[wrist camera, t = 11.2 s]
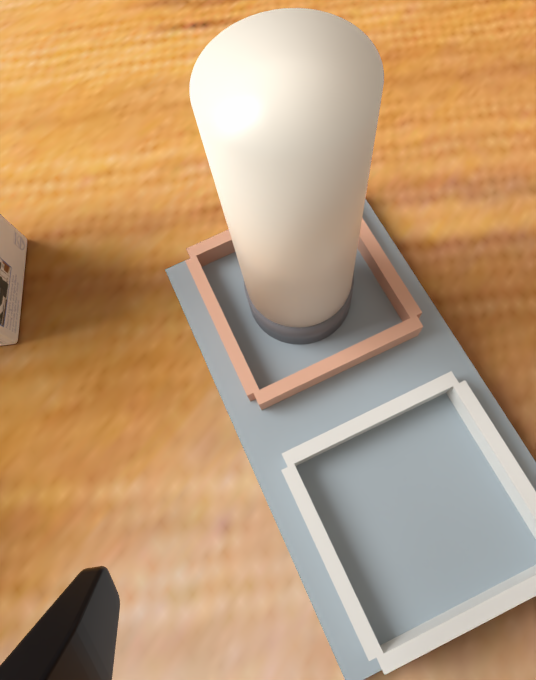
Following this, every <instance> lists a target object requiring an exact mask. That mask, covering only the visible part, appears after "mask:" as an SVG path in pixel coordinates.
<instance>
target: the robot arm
mask: <svg viewBox="0 0 536 680" xmlns="http://www.w3.org/2000/svg"><path fill="white" fill-rule="evenodd" d="M119 610H120V599H119V595H118V592H117V590H116V587H115V585H114V583H113V580H112V578H111V576H110V573H109V571H108V569H107V568H106V567H104V566H99V567H93V568H87V569H84V570H83V571H81V572H80V573H79V574H78V575H77V577H76V578H75V579H74V580H73V581H72V582H71V584H70V585H69V586H68V587H67V588H66V589H65V591H64V592H63V593H62V594H61V595H60V596H59V598H58V599H57V600H56V601H55V602H54V603H53V605H52V606H51V607H50V608H49V609H48V610H47V612H46V613H45V614H44V615H43V616H42V617H41V619H40V620H39V621H38V622H37V623H36V624H35V626H34V627H33V628H32V629H31V630H30V631H29V633H28V634H27V635H26V636H25V637H24V639H23V640H22V641H21V642H20V643H19V644H18V646H17V647H16V648H15V649H14V650H13V651H12V653H11V654H10V655H9V656H8V657H7V658H6V660H5V661H4V662H3V663H2V664H1V665H0V680H112V673H113V664H114V655H115V646H116V637H117V628H118V619H119Z"/></svg>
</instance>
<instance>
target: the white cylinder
mask: <svg viewBox="0 0 536 680" xmlns="http://www.w3.org/2000/svg"><path fill="white" fill-rule="evenodd" d="M383 84H384V70H383V65H382V61H381V58H380V55H379V53H378V51H377V49H376V47H375V46H374V44H373V43H372V41H371V40H370V39H369V38H368V36H367V35H366V34H364V33H363V32H362V31H361V30H360V29H359V28H357V27H356V26H355V25H353V24H352V23H350V22H348V21H346V20H345V19H343V18H341V17H338V16H336V15H333V14H330V13H327V12H323V11H319V10H313V9H304V8H284V9H276V10H270V11H266V12H261V13H258V14H255V15H252V16H249V17H247V18H245V19H242V20H240V21H238V22H236V23H234V24H233V25H231V26H229V27H228V28H226V29H225V30H223V31H222V32H221V33H219V34H218V35H217V36H216V37H215V38H214V39H213V40H211V42H210V43H209V44H208V45H207V46H206V47H205V48H204V50H203V51H202V53H201V54H200V56H199V57H198V59H197V61H196V63H195V65H194V68H193V71H192V74H191V79H190V99H191V105H192V108H193V111H194V115H195V118H196V121H197V125H198V128H199V132H200V135H201V138H202V142H203V145H204V148H205V152H206V155H207V158H208V162H209V165H210V168H211V172H212V175H213V178H214V182H215V185H216V188H217V192H218V195H219V198H220V202H221V205H222V208H223V212H224V215H225V218H226V222H227V225H228V228H229V232H230V235H231V238H232V242H233V245H234V249H235V252H236V255H237V259H238V262H239V265H240V269H241V272H242V275H243V279H244V288H245V293H246V296H247V299H248V303H249V306H250V309H251V312H252V315H253V317H254V319H255V321H256V322H257V324H258V325H259V327H260V328H261V329H262V330H263V331H264V332H265V333H267V334H268V335H269V336H271V337H273V338H274V339H277V340H279V341H281V342H285V343H289V344H300V345H301V344H310V343H314V342H317V341H320V340H322V339H324V338H326V337H328V336H329V335H331V334H332V333H334V332H335V331H336V330H337V329H338V328H339V327H340V326H341V325H342V323H343V322H344V320H345V319H346V316H347V314H348V312H349V309H350V304H351V298H352V292H353V286H354V266H355V260H356V253H357V247H358V241H359V235H360V228H361V222H362V216H363V210H364V203H365V197H366V191H367V185H368V178H369V172H370V166H371V159H372V153H373V147H374V141H375V134H376V128H377V122H378V116H379V109H380V103H381V97H382V91H383Z"/></svg>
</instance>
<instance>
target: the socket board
mask: <svg viewBox="0 0 536 680" xmlns="http://www.w3.org/2000/svg"><path fill="white" fill-rule="evenodd" d="M186 249H187V252H188V254H189V256H190V258H189V259H187V260H185V261H183V262H181V263H178V264H176V265H174V266H172V267H170V268H167V269H165V271H166V273H167V275H168V277H169V280H170V282H171V284H172V287H173V289H174V291H175V293H176V296H177V298H178V300H179V302H180V305H181V307H182V309H183V312H184V314H185V316H186V318H187V321H188V323H189V325H190V328H191V330H192V332H193V334H194V337H195V339H196V341H197V343H198V346H199V348H200V350H201V353H202V355H203V357H204V359H205V362H206V364H207V366H208V369H209V371H210V373H211V375H212V378H213V380H214V382H215V384H216V387H217V389H218V391H219V394H220V396H221V398H222V400H223V403H224V405H225V407H226V410H227V412H228V414H229V416H230V419H231V421H232V423H233V425H234V428H235V430H236V432H237V435H238V437H239V439H240V441H241V444H242V446H243V448H244V451H245V453H246V455H247V457H248V460H249V462H250V464H251V466H252V469H253V471H254V473H255V476H256V478H257V480H258V482H259V485H260V487H261V489H262V492H263V494H264V496H265V498H266V501H267V503H268V505H269V507H270V510H271V512H272V514H273V517H274V519H275V521H276V523H277V526H278V528H279V530H280V533H281V535H282V537H283V539H284V542H285V544H286V546H287V548H288V551H289V553H290V555H291V558H292V560H293V562H294V564H295V567H296V569H297V571H298V574H299V576H300V578H301V580H302V583H303V585H304V587H305V589H306V592H307V594H308V596H309V599H310V601H311V603H312V605H313V608H314V610H315V612H316V615H317V617H318V619H319V621H320V624H321V626H322V628H323V630H324V633H325V635H326V637H327V640H328V642H329V644H330V646H331V649H332V651H333V653H334V656H335V658H336V660H337V662H338V665H339V667H340V669H341V671H342V674H343V676H344V678H345V680H364V679H366V678H368V677H370V676H371V675H373V674H375V673H377V672H379V671H381V670H382V671H383V673H384V675H386V674H388V673H389V672H391V671H393V670H395V669H397V668H399V667H401V666H403V665H405V664H407V663H409V662H411V661H412V660H414V659H416V658H418V657H420V656H422V655H424V654H426V653H428V652H430V651H432V650H433V649H435V648H437V647H439V646H441V645H443V644H445V643H447V642H449V641H451V640H453V639H454V638H456V637H458V636H460V635H462V634H464V633H466V632H468V631H470V630H472V629H474V628H475V627H477V626H479V625H481V624H483V623H485V622H487V621H489V620H491V619H493V618H495V617H496V616H498V615H500V614H502V613H504V612H506V611H508V610H510V609H512V608H514V607H516V606H517V605H519V604H521V603H523V602H525V601H527V600H529V599H531V598H533V597H535V596H536V461H535V460H534V458H533V457H532V455H531V454H530V452H529V451H528V449H527V448H526V446H525V444H524V443H523V441H522V440H521V438H520V437H519V435H518V434H517V432H516V431H515V429H514V427H513V426H512V424H511V423H510V421H509V420H508V418H507V417H506V415H505V414H504V412H503V410H502V409H501V407H500V406H499V404H498V403H497V401H496V400H495V398H494V397H493V395H492V393H491V392H490V390H489V389H488V387H487V386H486V384H485V383H484V381H483V380H482V378H481V376H480V375H479V373H478V372H477V370H476V369H475V367H474V366H473V364H472V363H471V361H470V359H469V358H468V356H467V355H466V353H465V352H464V350H463V349H462V347H461V346H460V344H459V342H458V341H457V339H456V338H455V336H454V335H453V333H452V332H451V330H450V329H449V327H448V325H447V324H446V322H445V321H444V319H443V318H442V316H441V315H440V313H439V312H438V310H437V308H436V307H435V305H434V304H433V302H432V301H431V299H430V298H429V296H428V295H427V293H426V291H425V290H424V288H423V287H422V285H421V284H420V282H419V281H418V279H417V278H416V276H415V274H414V273H413V271H412V270H411V268H410V267H409V265H408V264H407V262H406V261H405V259H404V257H403V256H402V254H401V253H400V251H399V250H398V248H397V247H396V245H395V244H394V242H393V240H392V239H391V237H390V236H389V234H388V233H387V231H386V230H385V228H384V227H383V225H382V223H381V222H380V220H379V219H378V217H377V216H376V214H375V213H374V211H373V209H372V208H371V206H370V205H369V203H368V202H367V200H366V199H365V203H364V210H363V216H362V222H361V228H360V235H359V241H358V247H357V253H356V260H355V266H354V286H353V292H352V298H351V304H350V309H349V312H348V314H347V316H346V319H345V320H344V322H343V323H342V325H341V326H340V327H339V328H338V329H337V330H336V331H335V332H334V333H332V334H331V335H329V336H328V337H326V338H324V339H322V340H320V341H317V342H314V343H310V344H301V345H300V344H289V343H285V342H281V341H279V340H277V339H274V338H273V337H271V336H269V335H268V334H267V333H265V332H264V331H263V330H262V329H261V328H260V327H259V325H258V324H257V322H256V321H255V319H254V317H253V315H252V312H251V309H250V306H249V303H248V299H247V296H246V293H245V288H244V279H243V275H242V272H241V269H240V265H239V262H238V259H237V255H236V252H235V249H234V245H233V242H232V238H231V235H230V232H229V229H228V230H226V231H224V232H222V233H219V234H217V235H215V236H213V237H211V238H208V239H206V240H204V241H202V242H200V243H197V244H195V245H193V246H191V247H189V248H186Z"/></svg>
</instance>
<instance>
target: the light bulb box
mask: <svg viewBox="0 0 536 680" xmlns="http://www.w3.org/2000/svg"><path fill="white" fill-rule="evenodd" d="M26 252H27V238H26V237H25V236H24V235H22V234H21V233H20V232H19V231H18V230H17V229H16V228H15V227H14V226H13V225H12V224H10V223H9V222H8V221H7V220H6V219H5V218H4V217H3V216H2V215H1V214H0V346H1V345H10V344H15V343H17V341H18V334H19V324H20V313H21V303H22V293H23V282H24V272H25V262H26Z"/></svg>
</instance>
